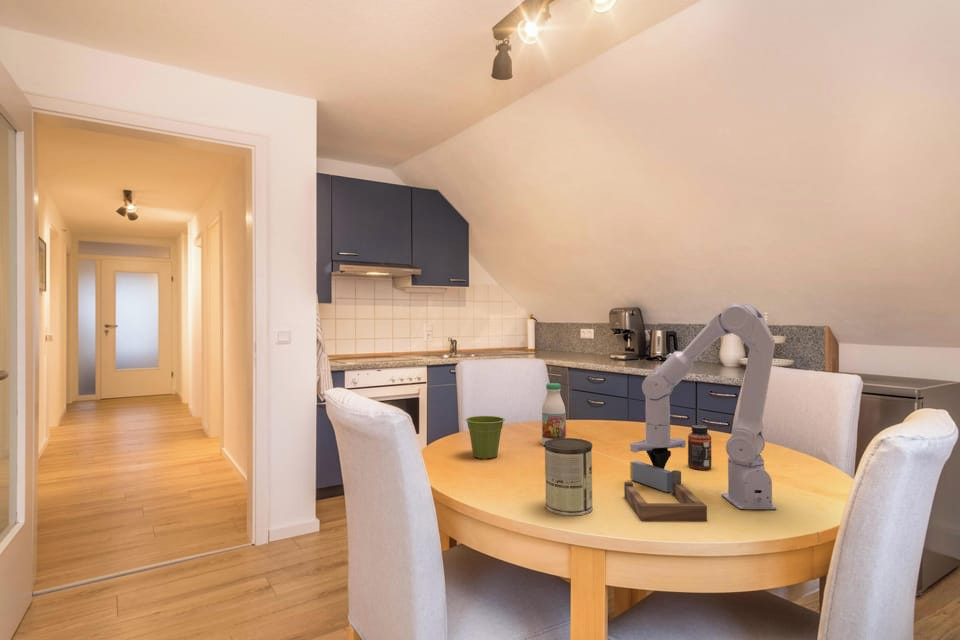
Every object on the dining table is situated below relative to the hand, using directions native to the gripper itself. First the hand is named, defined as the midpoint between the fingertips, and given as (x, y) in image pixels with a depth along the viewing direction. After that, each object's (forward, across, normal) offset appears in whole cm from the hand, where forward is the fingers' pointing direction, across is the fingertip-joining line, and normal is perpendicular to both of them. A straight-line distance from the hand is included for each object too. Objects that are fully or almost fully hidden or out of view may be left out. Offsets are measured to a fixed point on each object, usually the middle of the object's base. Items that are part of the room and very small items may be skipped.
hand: (658, 478), depth 131 cm
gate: (+1, +2, 0) cm, 2 cm away
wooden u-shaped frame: (+2, +8, +13) cm, 15 cm away
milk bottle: (+2, +7, -46) cm, 47 cm away
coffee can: (+2, +28, +7) cm, 29 cm away
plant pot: (+2, +32, -40) cm, 51 cm away
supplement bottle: (+2, -20, -10) cm, 22 cm away
